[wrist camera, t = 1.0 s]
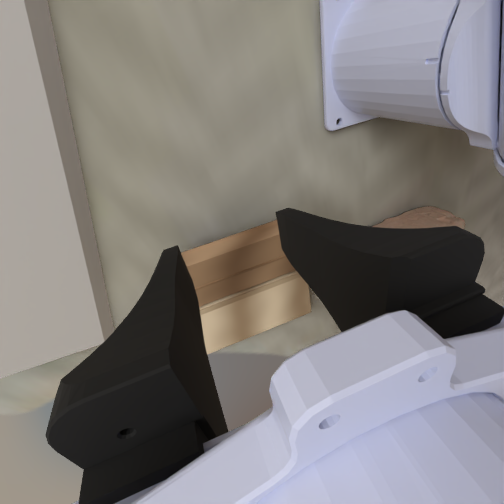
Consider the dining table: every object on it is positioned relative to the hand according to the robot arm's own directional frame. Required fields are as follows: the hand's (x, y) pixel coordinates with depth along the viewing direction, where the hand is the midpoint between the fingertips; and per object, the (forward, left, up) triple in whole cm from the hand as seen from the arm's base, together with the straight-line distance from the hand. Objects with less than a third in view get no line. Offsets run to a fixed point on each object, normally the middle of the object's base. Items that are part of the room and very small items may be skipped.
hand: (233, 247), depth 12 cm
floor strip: (0, +13, -9) cm, 16 cm away
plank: (-1, +6, -8) cm, 10 cm away
